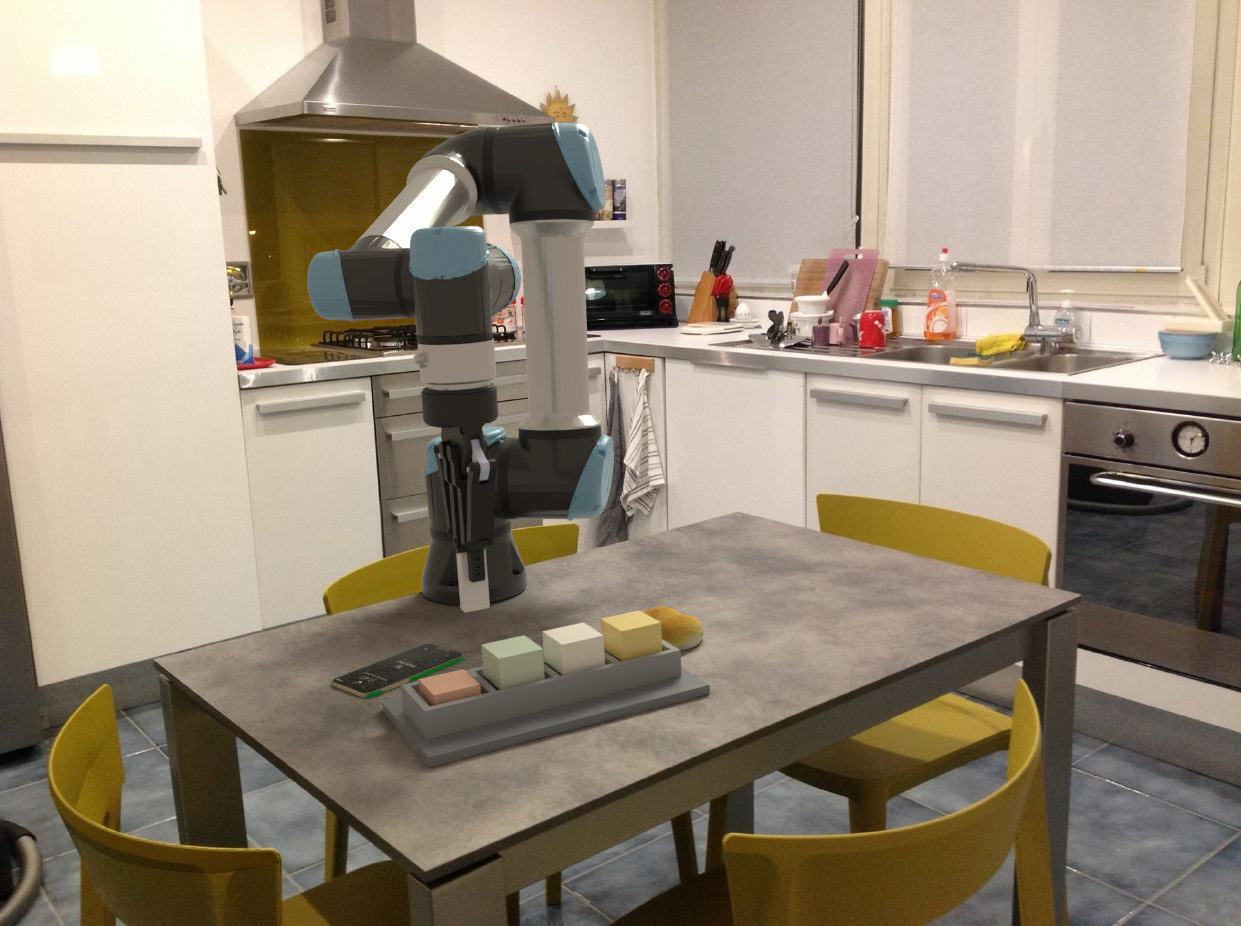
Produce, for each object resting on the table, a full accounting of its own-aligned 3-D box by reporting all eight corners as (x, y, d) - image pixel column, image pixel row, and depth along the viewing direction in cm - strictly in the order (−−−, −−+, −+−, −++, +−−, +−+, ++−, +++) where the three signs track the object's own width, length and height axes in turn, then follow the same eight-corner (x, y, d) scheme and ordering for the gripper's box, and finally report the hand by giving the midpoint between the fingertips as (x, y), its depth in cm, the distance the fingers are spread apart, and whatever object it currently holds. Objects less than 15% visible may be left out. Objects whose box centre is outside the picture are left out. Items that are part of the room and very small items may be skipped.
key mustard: (602, 647, 129) (600, 618, 128) (640, 639, 131) (639, 610, 130) (622, 661, 124) (621, 631, 123) (662, 652, 126) (661, 622, 126)
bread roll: (670, 659, 135) (669, 627, 134) (621, 640, 141) (620, 610, 141) (719, 640, 140) (718, 610, 139) (669, 624, 147) (668, 594, 146)
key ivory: (544, 661, 125) (542, 631, 125) (584, 651, 128) (583, 622, 127) (563, 675, 121) (561, 644, 120) (605, 665, 123) (603, 635, 122)
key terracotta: (421, 710, 119) (418, 679, 119) (465, 699, 121) (463, 669, 121) (436, 727, 115) (433, 695, 114) (482, 716, 117) (480, 684, 116)
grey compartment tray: (382, 709, 123) (379, 675, 122) (639, 649, 138) (638, 618, 137) (429, 766, 109) (426, 728, 108) (709, 693, 124) (708, 658, 123)
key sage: (483, 675, 122) (481, 644, 121) (526, 665, 124) (524, 635, 124) (500, 690, 118) (498, 658, 117) (544, 680, 120) (542, 648, 119)
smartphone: (468, 654, 137) (367, 695, 126) (468, 661, 137) (367, 703, 126) (427, 641, 142) (326, 679, 131) (428, 648, 142) (327, 687, 131)
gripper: (403, 381, 117) (422, 597, 122) (442, 395, 106) (460, 633, 110) (472, 374, 120) (487, 585, 125) (517, 386, 109) (532, 619, 114)
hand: (475, 607), depth 118 cm, fingers closed
